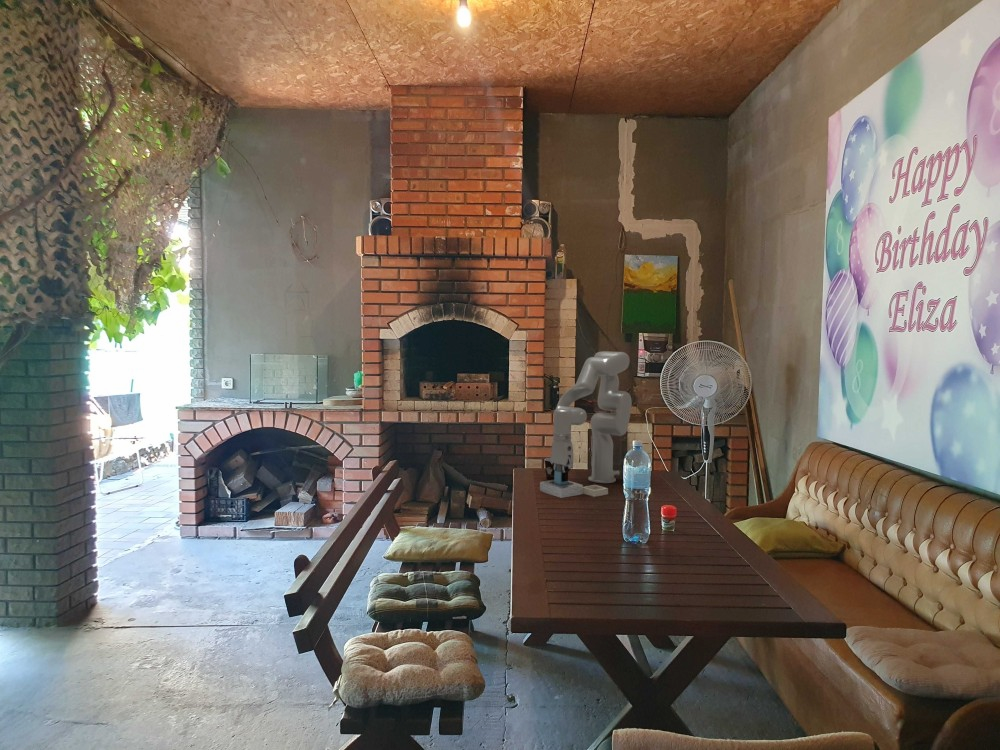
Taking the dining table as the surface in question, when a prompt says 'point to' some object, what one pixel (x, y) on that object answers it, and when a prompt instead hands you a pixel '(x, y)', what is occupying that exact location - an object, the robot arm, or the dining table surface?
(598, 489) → the cream square frame
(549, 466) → the coffee mug
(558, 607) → the dining table surface
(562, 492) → the port panel
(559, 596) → the dining table surface
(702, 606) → the dining table surface
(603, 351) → the robot arm
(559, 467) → the plug
